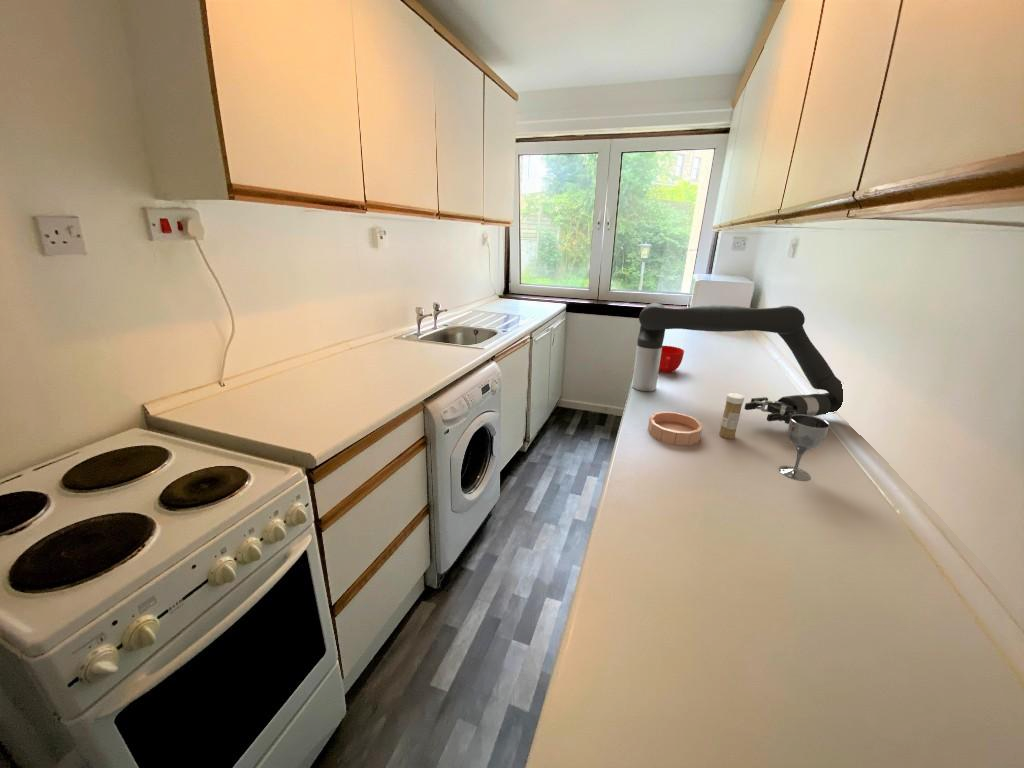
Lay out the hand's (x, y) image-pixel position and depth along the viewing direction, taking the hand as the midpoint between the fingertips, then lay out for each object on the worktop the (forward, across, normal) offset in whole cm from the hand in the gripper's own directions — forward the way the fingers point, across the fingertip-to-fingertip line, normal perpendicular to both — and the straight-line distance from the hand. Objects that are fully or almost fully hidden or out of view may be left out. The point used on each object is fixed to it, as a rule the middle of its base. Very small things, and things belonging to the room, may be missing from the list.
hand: (756, 412), depth 127 cm
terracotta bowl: (+24, -5, +7) cm, 26 cm away
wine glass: (+8, +22, +7) cm, 24 cm away
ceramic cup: (-10, -58, +7) cm, 59 cm away
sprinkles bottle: (+10, 0, +7) cm, 12 cm away
